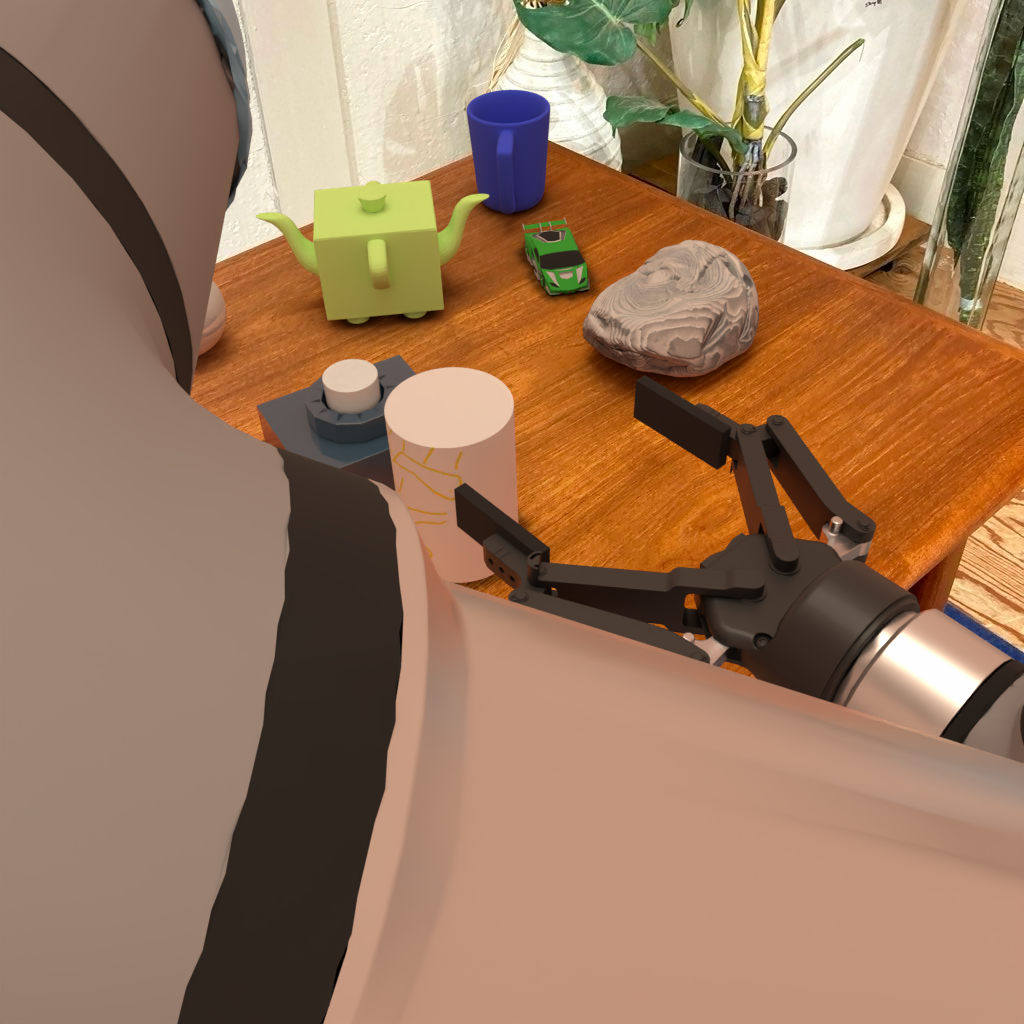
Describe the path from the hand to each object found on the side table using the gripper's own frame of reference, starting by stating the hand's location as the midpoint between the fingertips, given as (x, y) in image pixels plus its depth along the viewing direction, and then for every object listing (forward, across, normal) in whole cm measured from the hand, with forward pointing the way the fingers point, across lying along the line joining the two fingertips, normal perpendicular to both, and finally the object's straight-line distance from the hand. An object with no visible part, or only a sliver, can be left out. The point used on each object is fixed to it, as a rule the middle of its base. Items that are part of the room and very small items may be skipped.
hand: (554, 447), depth 60 cm
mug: (+43, +34, -15) cm, 57 cm away
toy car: (+31, +30, -15) cm, 46 cm away
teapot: (+38, +15, -15) cm, 44 cm away
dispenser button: (+22, 0, -9) cm, 24 cm away
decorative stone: (+16, +28, -15) cm, 35 cm away
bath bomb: (+44, -2, -15) cm, 46 cm away
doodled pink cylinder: (+10, 0, -15) cm, 18 cm away
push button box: (+22, 0, -15) cm, 26 cm away
